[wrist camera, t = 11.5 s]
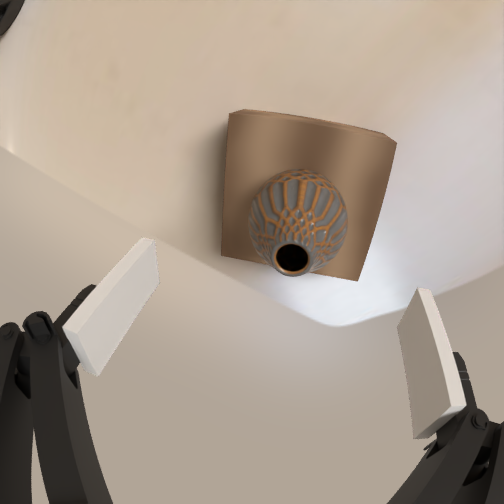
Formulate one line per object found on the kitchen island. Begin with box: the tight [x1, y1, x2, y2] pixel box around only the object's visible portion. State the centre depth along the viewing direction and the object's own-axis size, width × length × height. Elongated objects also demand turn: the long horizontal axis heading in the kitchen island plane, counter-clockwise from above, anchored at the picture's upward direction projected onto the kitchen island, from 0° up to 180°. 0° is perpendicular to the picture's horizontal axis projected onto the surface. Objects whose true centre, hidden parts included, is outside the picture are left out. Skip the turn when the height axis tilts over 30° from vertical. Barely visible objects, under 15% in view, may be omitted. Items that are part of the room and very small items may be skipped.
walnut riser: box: [221, 109, 397, 281], centre depth 26 cm, size 13×13×5 cm
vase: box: [248, 169, 348, 277], centre depth 20 cm, size 7×7×9 cm
